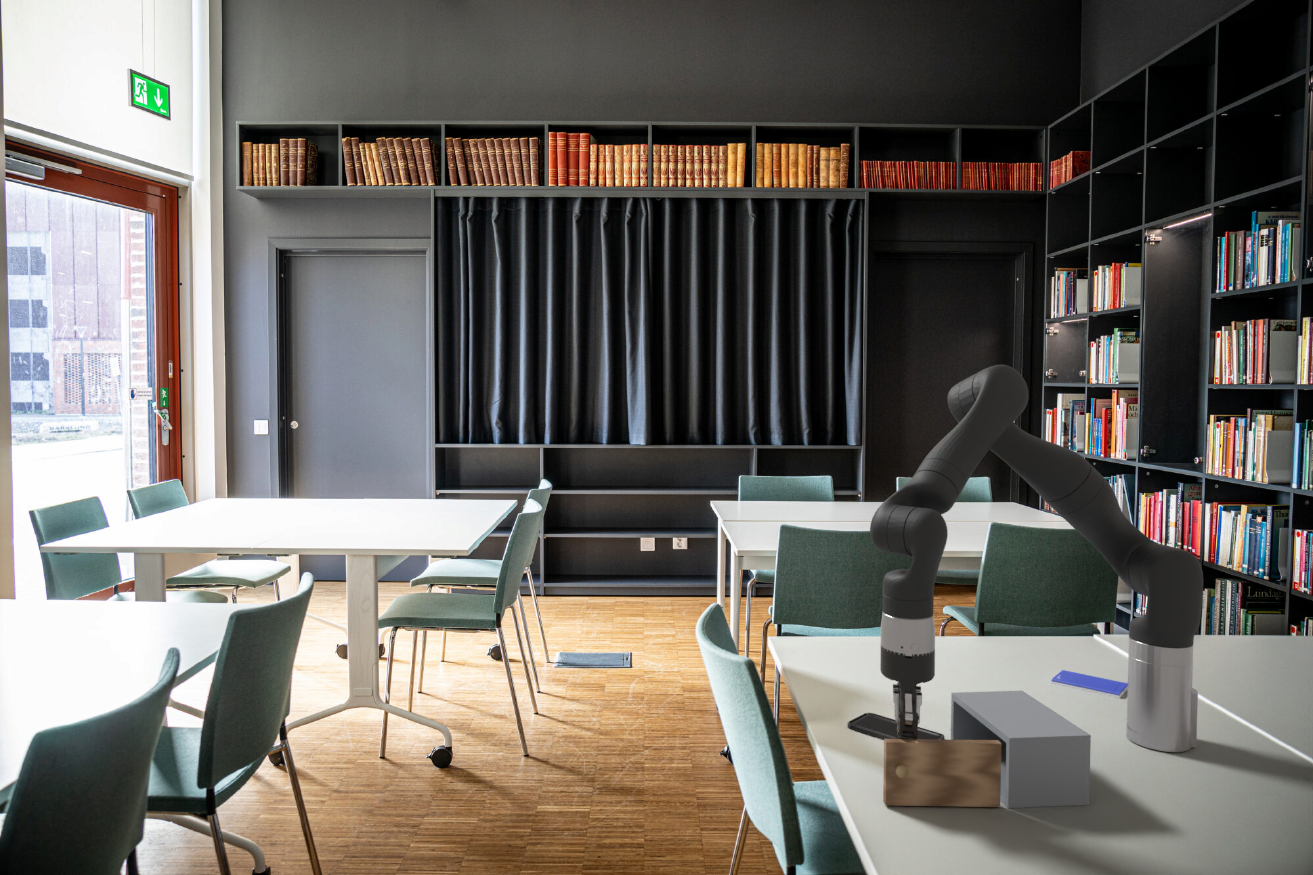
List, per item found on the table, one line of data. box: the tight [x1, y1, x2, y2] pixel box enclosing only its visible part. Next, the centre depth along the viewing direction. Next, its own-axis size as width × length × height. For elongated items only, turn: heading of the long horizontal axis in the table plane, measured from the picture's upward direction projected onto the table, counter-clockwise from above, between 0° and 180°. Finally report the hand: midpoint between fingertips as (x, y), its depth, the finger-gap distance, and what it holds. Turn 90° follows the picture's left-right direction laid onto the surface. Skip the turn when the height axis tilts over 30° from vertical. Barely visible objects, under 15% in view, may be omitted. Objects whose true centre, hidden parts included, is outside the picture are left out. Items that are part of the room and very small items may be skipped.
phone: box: [847, 712, 945, 741], centre depth 139 cm, size 8×1×15 cm
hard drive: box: [1050, 669, 1128, 699], centre depth 164 cm, size 2×8×12 cm
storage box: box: [950, 690, 1092, 809], centre depth 123 cm, size 12×18×10 cm, turn 5°
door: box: [882, 739, 1001, 808], centre depth 113 cm, size 16×2×9 cm, turn 88°
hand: (906, 759), depth 118 cm, fingers closed
